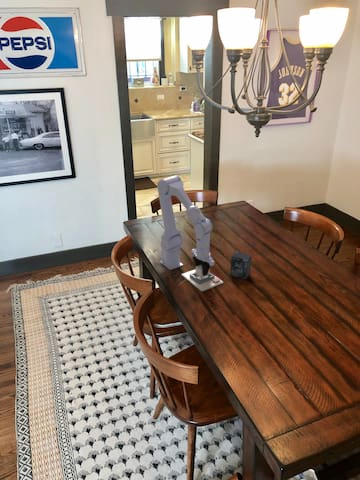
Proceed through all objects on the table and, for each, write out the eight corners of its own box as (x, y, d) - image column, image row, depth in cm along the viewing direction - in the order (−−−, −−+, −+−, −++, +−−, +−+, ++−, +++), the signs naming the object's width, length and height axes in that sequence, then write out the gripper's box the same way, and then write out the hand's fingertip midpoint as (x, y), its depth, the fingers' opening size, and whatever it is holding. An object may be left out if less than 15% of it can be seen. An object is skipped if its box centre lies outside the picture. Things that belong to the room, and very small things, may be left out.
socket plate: (181, 275, 172) (181, 271, 171) (202, 268, 178) (202, 264, 177) (201, 291, 160) (202, 286, 159) (223, 283, 166) (223, 278, 165)
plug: (195, 276, 169) (195, 266, 167) (204, 273, 172) (204, 263, 169) (200, 280, 166) (200, 270, 164) (209, 276, 169) (209, 267, 166)
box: (229, 275, 172) (231, 256, 167) (234, 270, 176) (235, 250, 172) (245, 280, 169) (247, 260, 164) (250, 274, 173) (252, 254, 168)
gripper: (220, 250, 158) (219, 277, 164) (200, 238, 169) (199, 263, 175) (207, 254, 155) (206, 282, 161) (187, 242, 166) (187, 268, 172)
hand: (202, 272), depth 168 cm, fingers closed on plug, 4 cm apart
